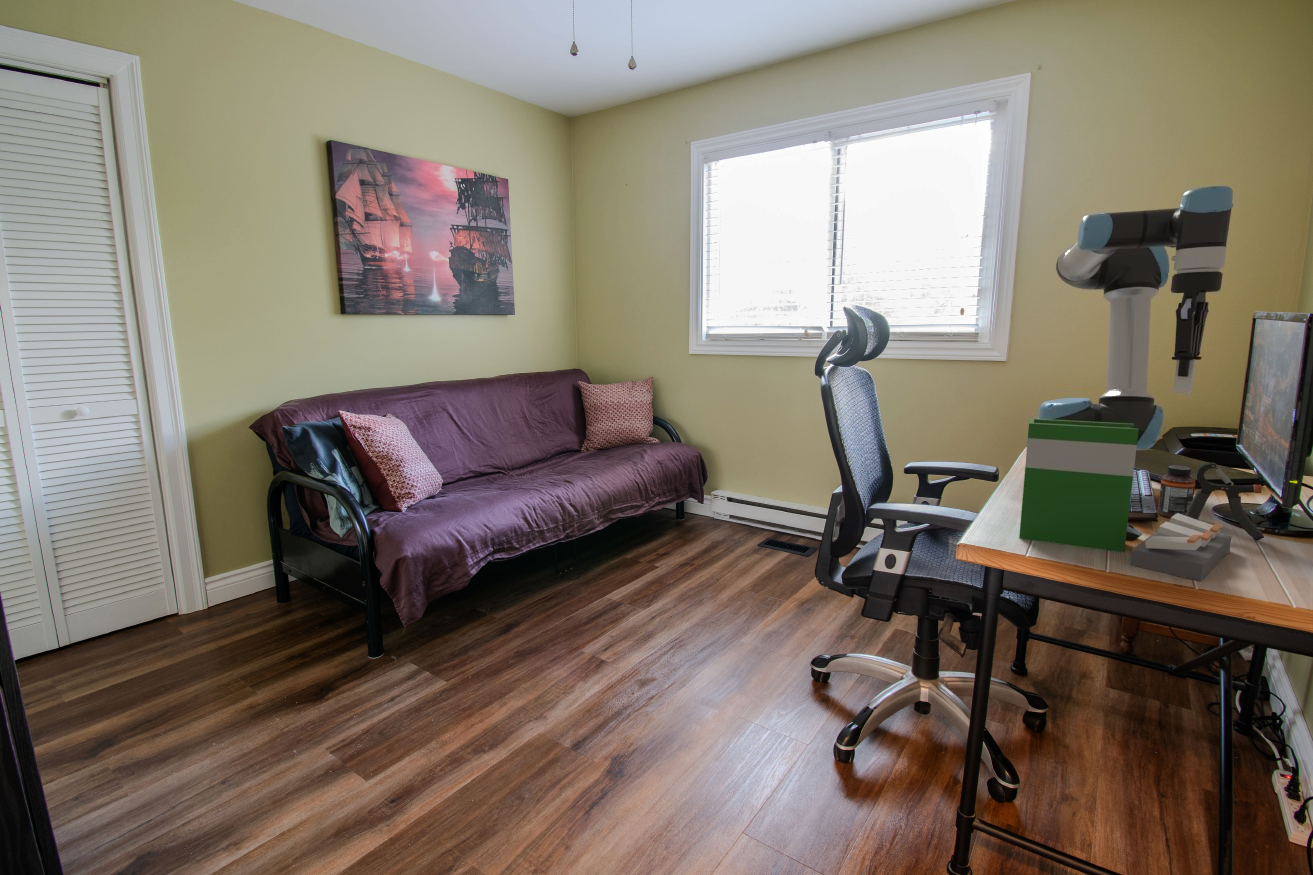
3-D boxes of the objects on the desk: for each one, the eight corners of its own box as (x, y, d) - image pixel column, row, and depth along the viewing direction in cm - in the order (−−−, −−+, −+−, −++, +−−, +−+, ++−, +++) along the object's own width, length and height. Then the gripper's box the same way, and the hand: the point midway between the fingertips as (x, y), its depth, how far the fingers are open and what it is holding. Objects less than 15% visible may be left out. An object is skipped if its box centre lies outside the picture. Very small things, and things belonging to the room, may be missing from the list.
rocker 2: (1175, 518, 127) (1178, 510, 127) (1218, 533, 122) (1222, 525, 122) (1168, 522, 124) (1172, 515, 124) (1213, 538, 119) (1217, 530, 119)
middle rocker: (1164, 527, 123) (1166, 518, 122) (1209, 541, 117) (1213, 533, 117) (1157, 531, 120) (1160, 523, 119) (1203, 547, 115) (1207, 538, 114)
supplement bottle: (1159, 510, 149) (1165, 463, 147) (1192, 515, 145) (1198, 466, 143) (1155, 516, 145) (1161, 467, 143) (1188, 521, 140) (1195, 471, 138)
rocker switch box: (1171, 533, 133) (1173, 519, 132) (1235, 545, 125) (1237, 530, 125) (1130, 564, 116) (1132, 549, 116) (1200, 581, 109) (1203, 564, 108)
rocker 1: (1153, 542, 118) (1152, 533, 118) (1201, 544, 112) (1200, 534, 112) (1146, 547, 115) (1144, 538, 115) (1195, 550, 110) (1194, 540, 110)
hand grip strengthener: (1263, 543, 126) (1275, 469, 123) (1181, 531, 134) (1190, 462, 131) (1262, 540, 128) (1273, 467, 125) (1181, 529, 135) (1190, 460, 133)
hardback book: (1120, 540, 129) (1133, 423, 125) (1124, 552, 123) (1138, 429, 119) (1020, 528, 138) (1029, 418, 134) (1019, 538, 132) (1029, 423, 127)
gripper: (1182, 274, 131) (1168, 389, 135) (1163, 272, 123) (1149, 394, 127) (1230, 271, 125) (1214, 391, 129) (1214, 268, 117) (1197, 396, 121)
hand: (1182, 392), depth 128 cm, fingers closed
